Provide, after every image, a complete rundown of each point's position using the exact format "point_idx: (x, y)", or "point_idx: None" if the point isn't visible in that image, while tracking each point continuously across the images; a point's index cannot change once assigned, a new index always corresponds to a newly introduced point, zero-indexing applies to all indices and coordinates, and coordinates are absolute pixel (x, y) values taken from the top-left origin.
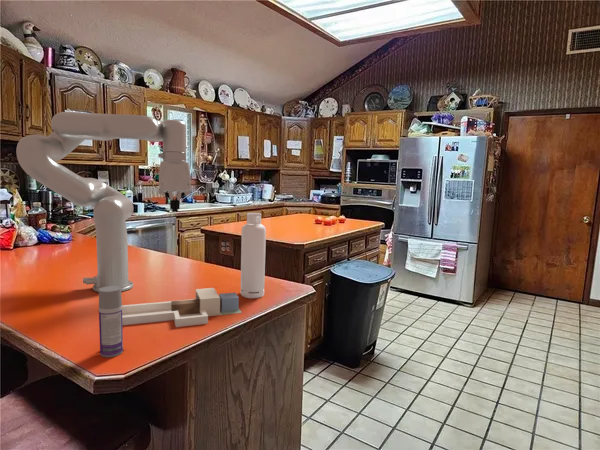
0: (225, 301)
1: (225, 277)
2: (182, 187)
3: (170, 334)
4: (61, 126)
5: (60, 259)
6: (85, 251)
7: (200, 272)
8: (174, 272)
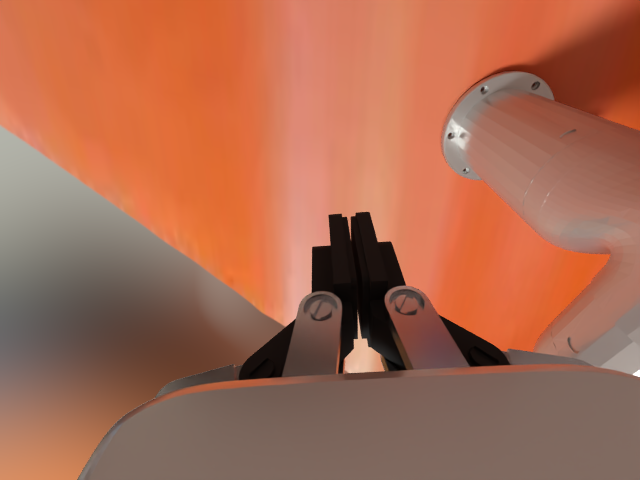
0: None
1: (184, 180)
2: (242, 455)
3: None
4: None
5: None
6: None
7: (259, 235)
8: (325, 244)
